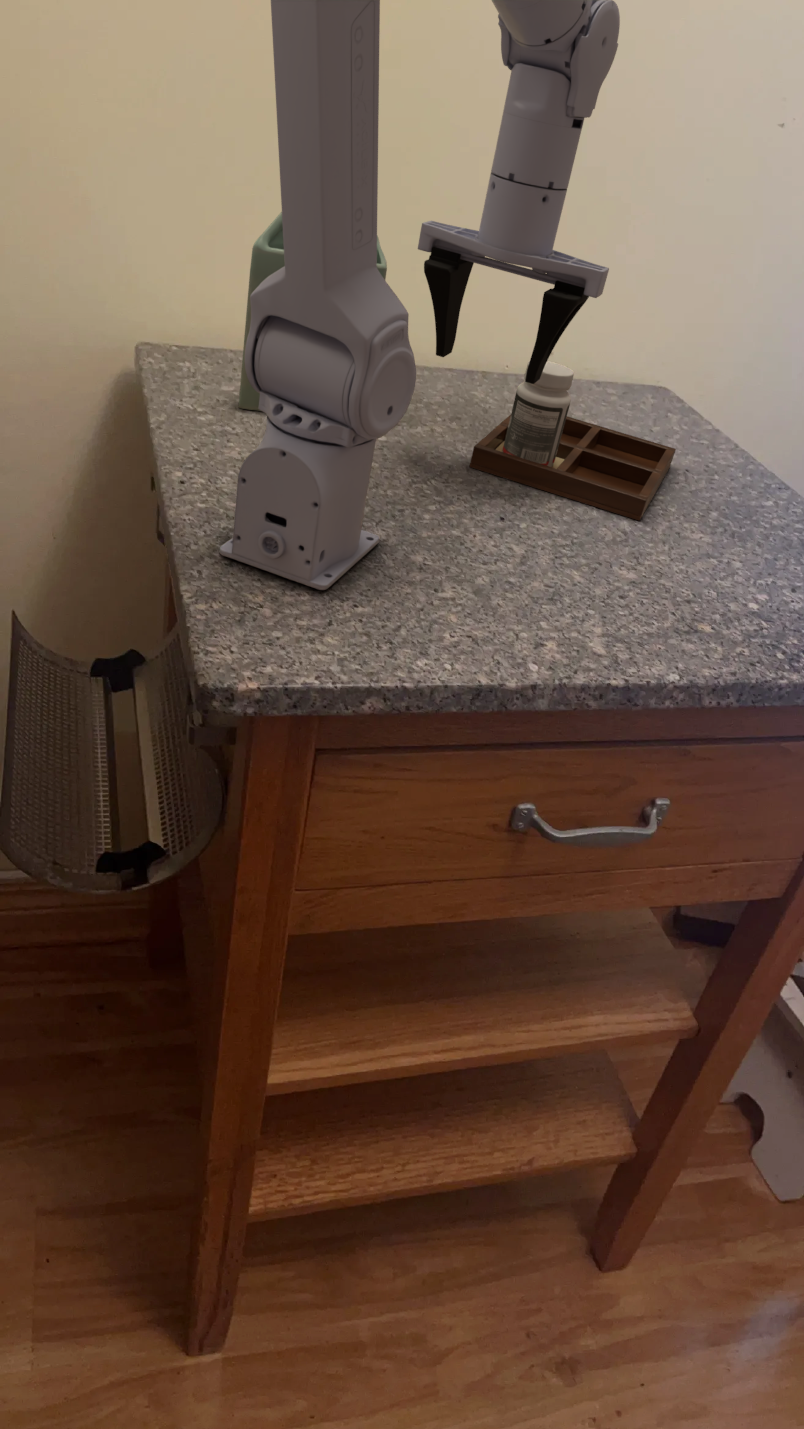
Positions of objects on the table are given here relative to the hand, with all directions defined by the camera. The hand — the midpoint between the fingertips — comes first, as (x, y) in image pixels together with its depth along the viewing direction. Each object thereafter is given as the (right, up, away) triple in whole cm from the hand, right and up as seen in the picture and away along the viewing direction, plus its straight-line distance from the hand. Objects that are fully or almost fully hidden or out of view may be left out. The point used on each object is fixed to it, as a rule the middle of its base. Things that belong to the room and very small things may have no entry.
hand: (487, 367), depth 83 cm
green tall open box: (-14, +1, +13) cm, 19 cm away
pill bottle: (+4, -5, +9) cm, 11 cm away
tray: (+9, -5, +12) cm, 15 cm away
